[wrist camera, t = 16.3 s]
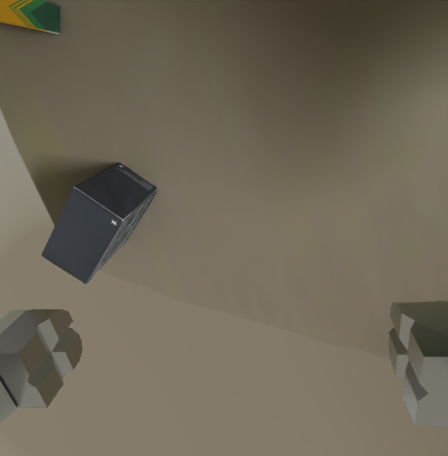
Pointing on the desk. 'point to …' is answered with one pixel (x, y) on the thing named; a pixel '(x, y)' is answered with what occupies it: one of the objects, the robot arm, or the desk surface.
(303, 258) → the desk surface
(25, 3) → the crayon box
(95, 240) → the small box
